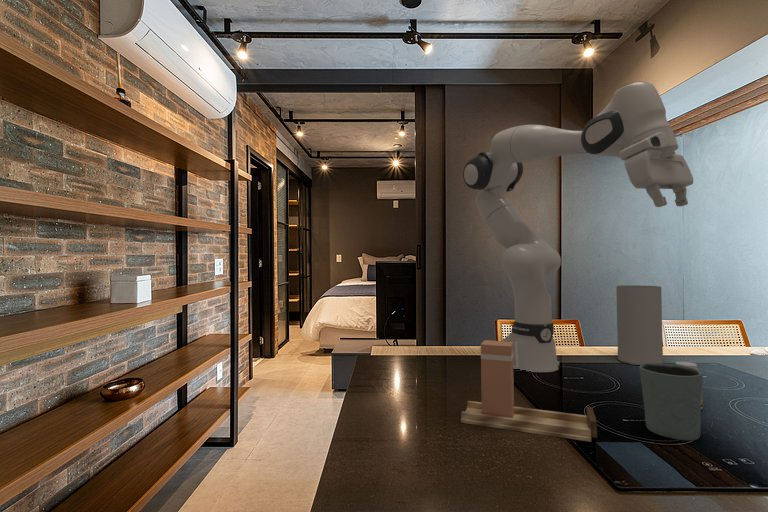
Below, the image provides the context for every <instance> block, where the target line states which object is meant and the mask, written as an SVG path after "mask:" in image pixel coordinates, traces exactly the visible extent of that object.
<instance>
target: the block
mask: <svg viewBox="0 0 768 512" xmlns="http://www.w3.org/2000/svg"><path fill="white" fill-rule="evenodd" d="M480 373H481V374H480V376H481V377H480V380H481V381H480V382H481V383H480V384H481V385H480V388H481V390H480V391H481V392H480V393H481V402H482V414H487V415H494V416H502V417H509V418H513V415H514V407H515V396H514V395H515V390H514V389H515V388H514V387H515V385H514V383H515V382H514V370H513V342H506V341H502V340H490V339H484V340H483V341H482V342H481V343H480Z"/></svg>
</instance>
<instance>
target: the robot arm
mask: <svg viewBox="0 0 768 512" xmlns="http://www.w3.org/2000/svg"><path fill="white" fill-rule="evenodd" d="M666 114H667V112H666V107H665V105H664V102H663V101H662V98H661V95H660V94H659V92H658V90H657V88H656V86H655V85H654V84H653V83H650V82H648V81H636V82H631V83H627V84H625V85H623V86H621V87H619V88H618V89H617V90H615V91H614V93H613V95H612V98H611V99H610V101H609V102H608V104H607V105H606V106H605V107H604V108H603V109H602V110H601V111H600V112H599V113H598V114H597V115H596V116H595V117H593V118H591V119H590V120H588V122H587V123H586V124H585V125H584V127H583V129H582V130H570V129H565V128H558V127H555V126H548V125H543V124H524V125H516V126H513V127H509V128H506V129H503V130H501V131H499V132H498V133H495V135H494V136H493V137H492V140H491V142H490V149H489V151H488V152H485V151H480V152H479V153H478V154H477V155H476V156H475V157H473V158H471V159H470V160H468V161H467V162H466V163H465V164H464V165H465V166H464V167H463V172H462V178H463V182H464V183H465V185H466V186H467V187H468V188H469V189H472V190H478V191H479V192H478V193H477V195H476V197H475V200H474V203H475V207H476V208H477V211H478V213H479V215H480V217H481V219H482V221H483V222H484V224H485V226H486V227H487V228H488V230H489V231H490V233H491V234H492V236H493V237H494V238H495V240H496V242H497V243H498V244H499V245H501V246H502V247H504V248H505V250H504V251H503V253H502V255H501V260H500V262H501V263H500V264H501V267H502V269H503V271H504V272H505V274H506V275H507V276H508V279H509V283H510V285H511V290H512V292H513V293H512V295H513V298H514V299H513V300H514V321H512V322H511V324H510V325H509V326H510V327H511V333H509V334H508V335H507V336H505V338H503V339H502V340H501V341H506V342H513V369H520V370H519V371H522V370H526V371H525V372H529V371H531V372H530V373H553V372H556V371H558V370H559V369H560V368H559V366H560V361H559V360H558V356H557V348H556V346H557V345H556V340H555V339H554V336H553V335H554V334H555V333H554V332H555V325H554V323H553V318H552V317H553V314H552V313H553V312H552V311H553V309H552V307H553V305H552V300H553V299H552V297H551V295H550V293H549V291H548V288H547V285H546V283H545V278H548V277H550V276H552V275H553V274H555V273H557V272H558V270H559V269H560V267H561V264H562V260H561V259H562V258H561V255H560V254H559V252H558V251H557V250H556V249H555V248H553V247H552V246H551V245H550V244H548V243H547V241H545V239H544V238H543V237H542V236H541V235H539V234H538V233H537V231H535V229H533V228H532V227H531V225H529V224H528V222H527V221H526V220H525V219H524V218H523V215H521V213H520V212H519V211H518V209H517V208H516V207H515V205H514V204H513V203H512V201H511V200H510V199H509V196H508V195H507V192H512V191H513V190H514V188H515V187H516V184H518V183H519V181H520V180H521V178H522V176H523V173H524V165H523V163H531V162H538V161H542V160H547V159H551V158H556V157H561V156H567V155H573V154H575V155H576V154H591V155H595V156H603V157H615V158H620V159H621V161H624V162H623V163H624V164H623V165H624V167H625V170H626V173H627V177H628V178H629V179H628V180H630V183H631V184H632V186H633V187H634V188H635V189H641V190H642V189H644V190H645V191H646V193H647V195H648V196H649V197H650V199H651V200H652V202H653V204H654V206H655V207H656V208H662V207H664V206H666V205H668V202H667V198H666V196H663V194H662V191H661V190H672V192H673V194H674V195H675V199H674V202H675V205H676V207H684V206H687V205H688V204H689V201H688V198H687V191H688V189H687V187H689V186H692V185H693V184H694V177H693V174H692V172H691V169H690V167H689V165H688V163H687V161H686V159H685V157H683V155H681V154H677V153H676V151H677V150H678V149H679V145H678V142H677V139H676V138H677V137H676V136H675V134H674V131H673V127H672V125H671V124H670V123H669V121H668V120H667V117H666Z"/></svg>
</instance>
